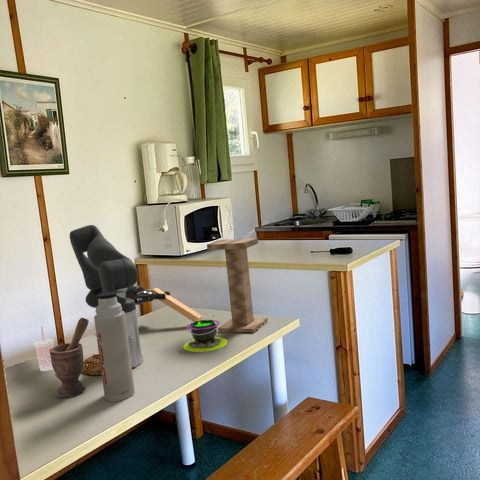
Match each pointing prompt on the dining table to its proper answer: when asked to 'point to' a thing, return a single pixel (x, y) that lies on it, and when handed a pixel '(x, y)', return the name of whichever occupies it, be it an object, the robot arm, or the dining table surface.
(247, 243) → the shelf stand
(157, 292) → the handle bar
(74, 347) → the mortar and pestle
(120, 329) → the thermos bottle
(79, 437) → the dining table surface
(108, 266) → the robot arm
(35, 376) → the dining table surface
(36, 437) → the dining table surface
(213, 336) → the toy cauldron
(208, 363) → the dining table surface
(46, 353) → the beverage cup
